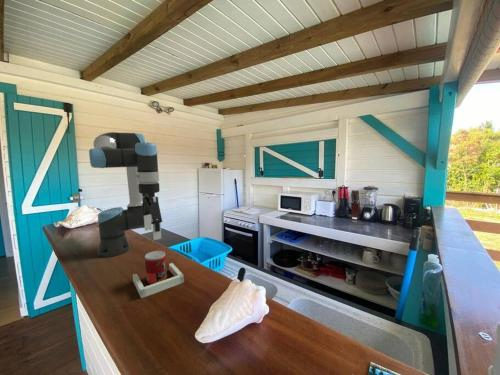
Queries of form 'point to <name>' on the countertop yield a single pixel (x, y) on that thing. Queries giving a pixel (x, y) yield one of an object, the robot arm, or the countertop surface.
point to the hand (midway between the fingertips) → (152, 234)
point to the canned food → (155, 267)
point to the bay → (160, 285)
